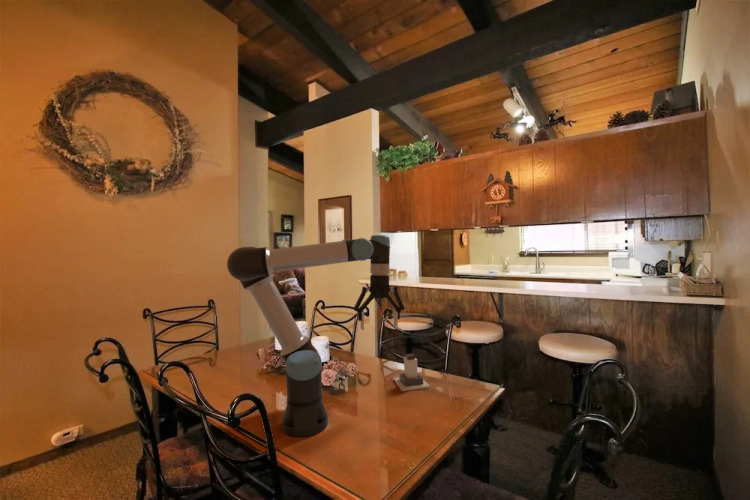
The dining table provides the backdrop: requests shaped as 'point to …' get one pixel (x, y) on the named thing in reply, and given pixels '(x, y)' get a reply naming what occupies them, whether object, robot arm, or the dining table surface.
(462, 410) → the dining table surface
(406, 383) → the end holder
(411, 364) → the grey bottle
